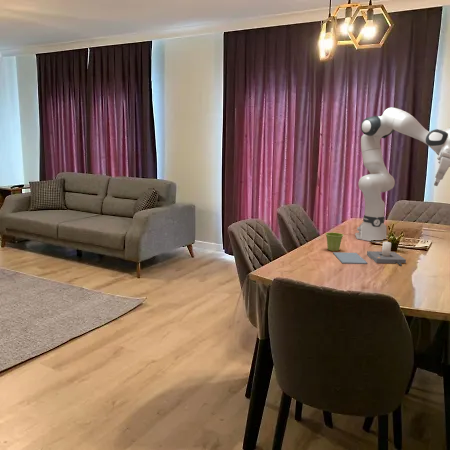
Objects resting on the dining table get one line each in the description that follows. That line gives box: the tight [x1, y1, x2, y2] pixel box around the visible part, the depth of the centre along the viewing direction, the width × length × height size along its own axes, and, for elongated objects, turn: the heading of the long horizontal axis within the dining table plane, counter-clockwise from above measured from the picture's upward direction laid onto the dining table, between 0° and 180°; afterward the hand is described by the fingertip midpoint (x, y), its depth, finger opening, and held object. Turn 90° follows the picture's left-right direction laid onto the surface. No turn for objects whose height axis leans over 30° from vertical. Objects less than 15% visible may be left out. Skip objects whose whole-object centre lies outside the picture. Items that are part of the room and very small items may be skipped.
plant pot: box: [325, 231, 344, 252], centre depth 253 cm, size 9×9×9 cm
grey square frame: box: [366, 250, 407, 267], centre depth 234 cm, size 21×14×2 cm, turn 0°
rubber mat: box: [332, 251, 368, 265], centre depth 236 cm, size 20×12×1 cm, turn 0°
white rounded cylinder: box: [381, 241, 392, 257], centre depth 236 cm, size 5×5×8 cm
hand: (436, 184), depth 235 cm, fingers open, 8 cm apart
